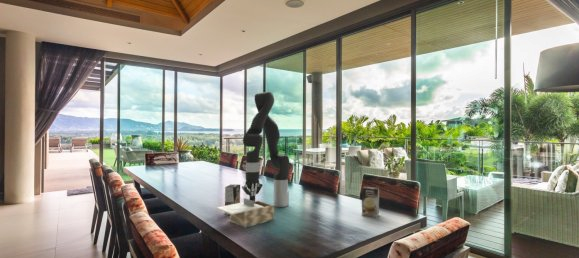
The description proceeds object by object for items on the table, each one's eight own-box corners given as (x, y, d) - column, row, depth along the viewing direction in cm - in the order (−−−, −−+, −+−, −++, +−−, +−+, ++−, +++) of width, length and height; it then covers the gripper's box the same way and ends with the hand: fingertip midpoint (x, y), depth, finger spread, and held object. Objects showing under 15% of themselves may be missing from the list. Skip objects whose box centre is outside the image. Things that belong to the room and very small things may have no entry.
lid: (247, 202, 167) (247, 196, 167) (263, 207, 157) (263, 200, 157) (216, 208, 154) (216, 201, 154) (231, 214, 143) (232, 207, 143)
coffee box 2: (361, 215, 172) (361, 187, 172) (363, 212, 178) (363, 185, 178) (377, 217, 168) (377, 189, 168) (379, 214, 174) (379, 187, 174)
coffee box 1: (234, 215, 170) (235, 187, 170) (224, 214, 172) (224, 186, 172) (240, 210, 179) (240, 184, 179) (230, 210, 181) (230, 183, 181)
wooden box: (258, 214, 172) (258, 200, 172) (273, 219, 162) (273, 205, 162) (230, 221, 159) (230, 206, 159) (245, 227, 149) (245, 211, 149)
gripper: (258, 168, 168) (257, 199, 168) (238, 170, 159) (238, 203, 159) (266, 170, 162) (266, 201, 162) (246, 172, 153) (246, 205, 153)
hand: (252, 202), depth 161 cm, fingers closed
